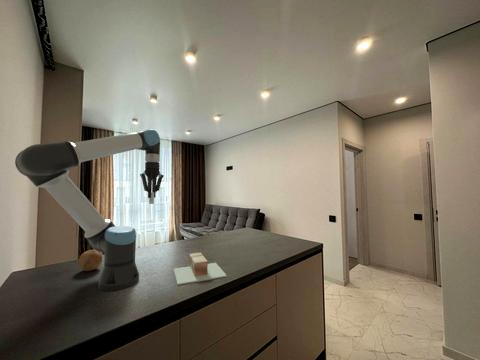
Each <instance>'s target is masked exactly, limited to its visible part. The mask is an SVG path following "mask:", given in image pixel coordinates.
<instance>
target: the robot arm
mask: <svg viewBox="0 0 480 360" xmlns="http://www.w3.org/2000/svg"><path fill="white" fill-rule="evenodd" d="M134 150H139V151H145V156H144V157H145V162H144V165H145V167H144V172H143V173H140V174H139V176H140V177H141V181H142V185H143V190H144V192H146V193H147V199H148V200H149V201H148V204H149V205H154V204H155V198H156V193H157V192H159V191H160V188H161V184H162V181H163V178H164V174H161V172H160V166H161V165H160V161H161V160H160V159H161V157H160V156H161V155H160V154H161V137H160V135H159V133H158V131H157V130H155V129H151V128H150V129H145V130H142V131H137V132H129V133H127V132H126V133H123V134H118V135H113V136H107V137H99V138H95V139H88V140H82V141H78V142H71V141H69V140H67V141H60V142H58V141H57V142H51V143H50V142H49V143H38V144H37V143H36V144H32V145H29V146H27V147H26V148H24V149H23V150H21V151H20V152H19V153H18V154H17V155H16V157H15V160H14V164H15V168H16V169H17V171H18V172H19V173H20V174H22V175H23V176H25V177H26V178H28V180H29V181H31V183H32V184H33V185H34V186H35V187H36V188H43V189H45V190H46V191H47V192H48V194H49V195H50V196H51V197H52V198H53V199H54V200H55V201H56V203H58V205H60V206H61V207H62V209H63V210H64V211H65V212H67V214H68V215H69V216H70V217H71V218H72V220H74V221H75V223H76V224H78V225H79V226H80V228H81V229H82V230H83V231H84V238H85V239H86V241H88V242H89V245H90V246H91V248H93V250H96V251H98V252H100V253H101V254H104V258H103V259H104V260H103V262H104V263H103V269H102V272H101V274H100V276H99V279H98V282H97V283H98V285H97V287H98V289H99V290H100V291H105V292H109V291H110V292H113V291H119V290H124V289H126V288H127V289H128V288H129V287H132V286H134V285H135V284H137V283H138V282H139V280H140V273H139V269H138V266H137V264H136V252H137V251H136V248H137V247H136V245H137V244H136V243H137V231H136V229H135V228H134V227H132V226H128V225H127V226H126V225H115V224H114V222H112V220H111V219H109V218H108V219H107V218H104V216H102V214H101V213H100V212H99V211H98V210H97V209H96V208H95V206H94V205H93V204H92V203H91V201H90V200H89V198H87V196H86V195H84V193H83V192H82V191H81V190H80V188H78V186H77V185H76V184H75V183H74V182H73V181H72V179H71V178H70V177H69V174H70V170H69V169H71V168H74V167H75V168H76V167H79V166H80V165H81V163H84V162H88V161H92V160H97V159H100V158H105V157H108V156H112V155H113V156H114V155H117V154H121V153H127V152H130V151H134Z"/></svg>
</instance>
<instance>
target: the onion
mask: <svg viewBox="0 0 480 360" xmlns="http://www.w3.org/2000/svg"><path fill="white" fill-rule="evenodd" d="M77 262H78V263H77V264H78V267H79V268H80V270H82V271H84V272H91V271H94V270H96V269H98V268H99V267H100V266H101V264H102V262H103V256H102V253H101V252H100V251H97V250H95V249H88V250H86V251H83V253H82V254H81V255H80V256H79V258H78V261H77Z"/></svg>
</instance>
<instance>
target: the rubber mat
mask: <svg viewBox="0 0 480 360" xmlns="http://www.w3.org/2000/svg"><path fill="white" fill-rule="evenodd" d="M173 272H174V277H175V282H176V285H177V286H181V285H187V284H193V283H198V282H203V281H209V280H215V279H221V278H227V276H228V275H227V274H226V273H225V271H223V269H222V268H221V267H220V265H218V264H217V262H211V263H208V270H207V275H201V276H194V274H193V272H192V270H191V268H190V266H189V265H188V266H184V267H182V266H181V267H175V268H173Z"/></svg>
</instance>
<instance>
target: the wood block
mask: <svg viewBox="0 0 480 360" xmlns="http://www.w3.org/2000/svg"><path fill="white" fill-rule="evenodd" d="M188 259H189V261H188V263H189V265H188V267H189V266H190V268H191V270H192V272H193V274H194V276H201V275H207V270H208V264H209V262H208V260H207V259H206V258H205V256H204V255H203V253H202V252H192V253H189V257H188Z"/></svg>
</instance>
